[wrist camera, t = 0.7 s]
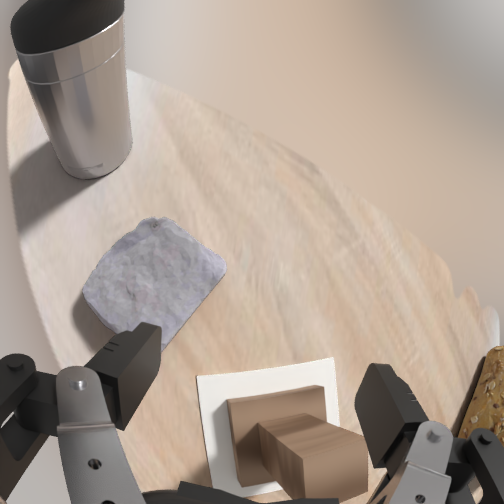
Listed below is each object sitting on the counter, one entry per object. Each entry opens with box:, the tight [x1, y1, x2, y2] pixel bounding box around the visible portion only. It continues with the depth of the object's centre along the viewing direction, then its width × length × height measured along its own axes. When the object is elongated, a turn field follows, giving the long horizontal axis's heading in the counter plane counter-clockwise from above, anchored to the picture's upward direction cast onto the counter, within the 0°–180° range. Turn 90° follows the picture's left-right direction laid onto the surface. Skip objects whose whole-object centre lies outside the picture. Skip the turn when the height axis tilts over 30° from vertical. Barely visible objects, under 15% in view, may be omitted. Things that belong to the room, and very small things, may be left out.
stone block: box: [82, 217, 227, 352], centre depth 26 cm, size 12×5×10 cm
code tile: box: [197, 357, 340, 497], centre depth 25 cm, size 14×14×1 cm
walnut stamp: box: [227, 385, 368, 503], centre depth 19 cm, size 9×9×12 cm
